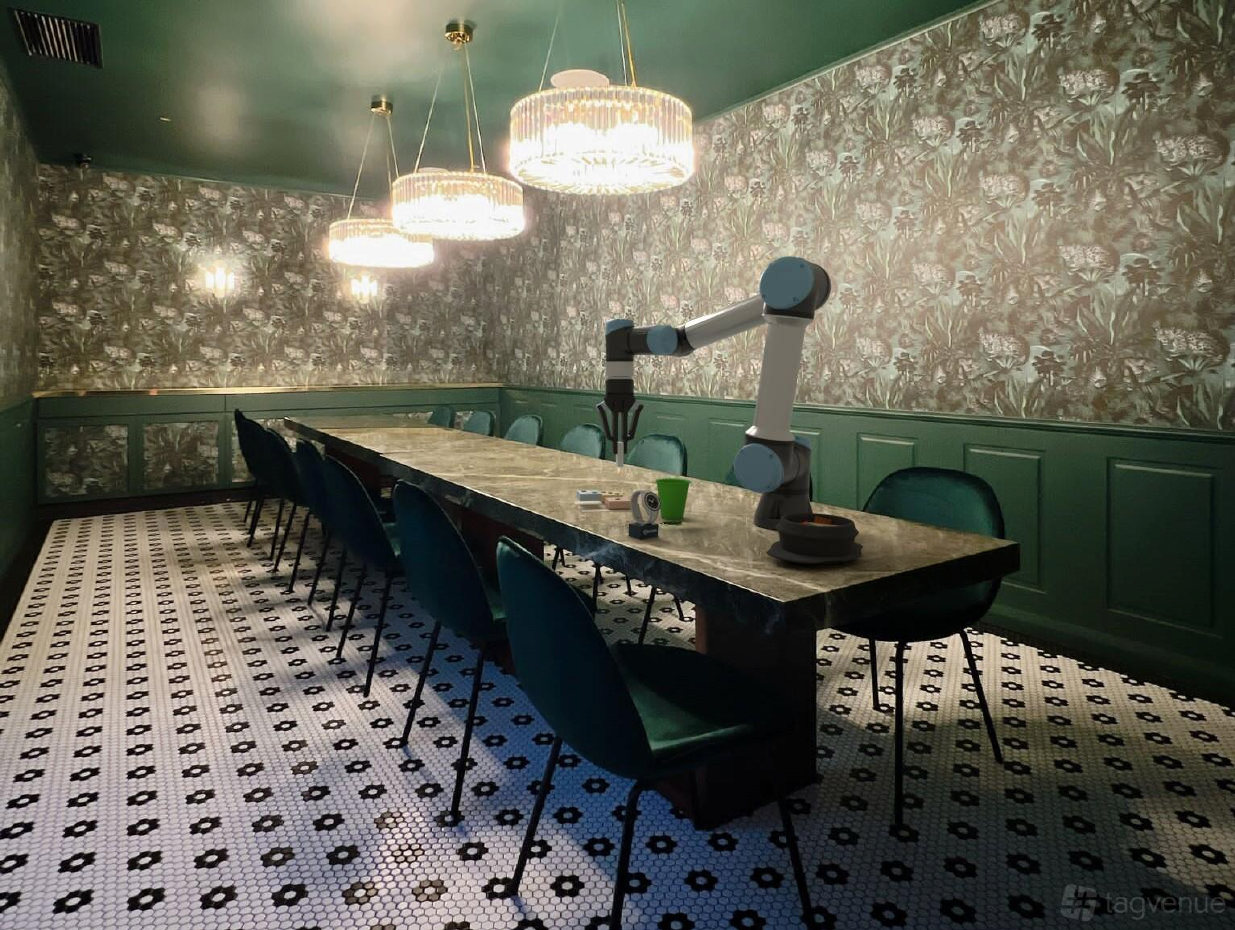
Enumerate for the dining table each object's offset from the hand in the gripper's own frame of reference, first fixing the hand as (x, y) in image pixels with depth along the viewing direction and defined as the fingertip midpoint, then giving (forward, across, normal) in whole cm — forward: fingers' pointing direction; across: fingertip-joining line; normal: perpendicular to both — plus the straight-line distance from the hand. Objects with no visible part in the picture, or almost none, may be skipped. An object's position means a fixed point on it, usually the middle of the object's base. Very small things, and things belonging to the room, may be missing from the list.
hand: (619, 466), depth 202 cm
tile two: (+10, +7, -5) cm, 13 cm away
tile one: (+11, 0, 0) cm, 11 cm away
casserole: (+15, -30, +54) cm, 63 cm away
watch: (+14, 0, +28) cm, 32 cm away
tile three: (+11, 0, -10) cm, 15 cm away
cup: (+14, -10, +14) cm, 22 cm away
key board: (+13, +4, -6) cm, 14 cm away
